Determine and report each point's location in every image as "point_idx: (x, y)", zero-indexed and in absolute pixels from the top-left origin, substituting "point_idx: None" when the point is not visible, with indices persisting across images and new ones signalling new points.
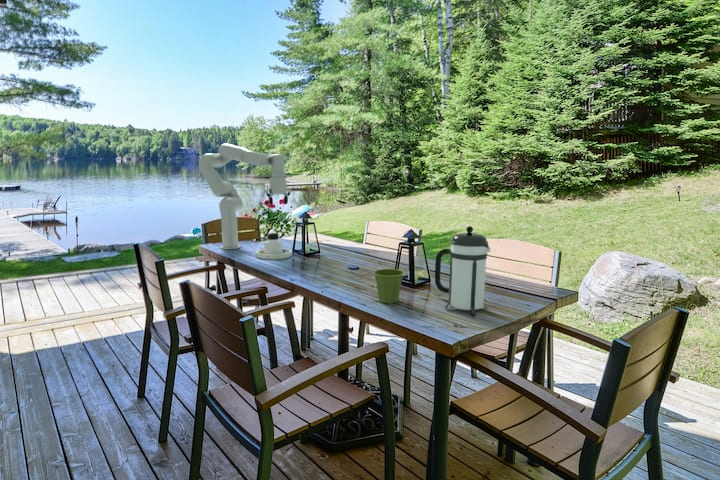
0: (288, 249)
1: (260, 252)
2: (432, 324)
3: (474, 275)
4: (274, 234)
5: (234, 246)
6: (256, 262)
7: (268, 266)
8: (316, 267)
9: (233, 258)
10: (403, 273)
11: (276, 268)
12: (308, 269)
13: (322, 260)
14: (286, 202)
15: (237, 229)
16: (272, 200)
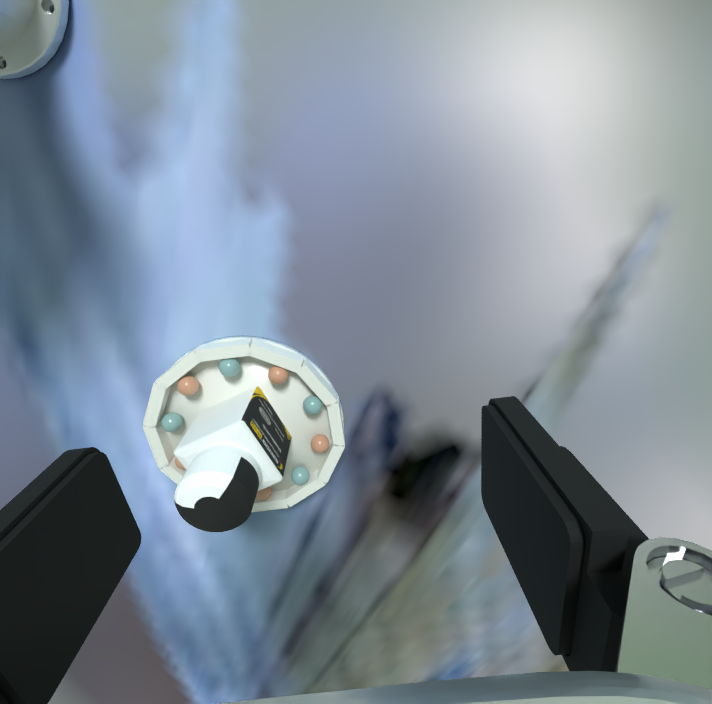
0: (337, 420)
1: (169, 431)
2: None
3: None
4: (217, 531)
5: (3, 45)
6: (144, 515)
7: (183, 586)
8: (340, 647)
9: (33, 397)
10: None
11: (205, 617)
12: (304, 658)
13: (413, 577)
14: (495, 517)
15: None
16: (83, 632)
